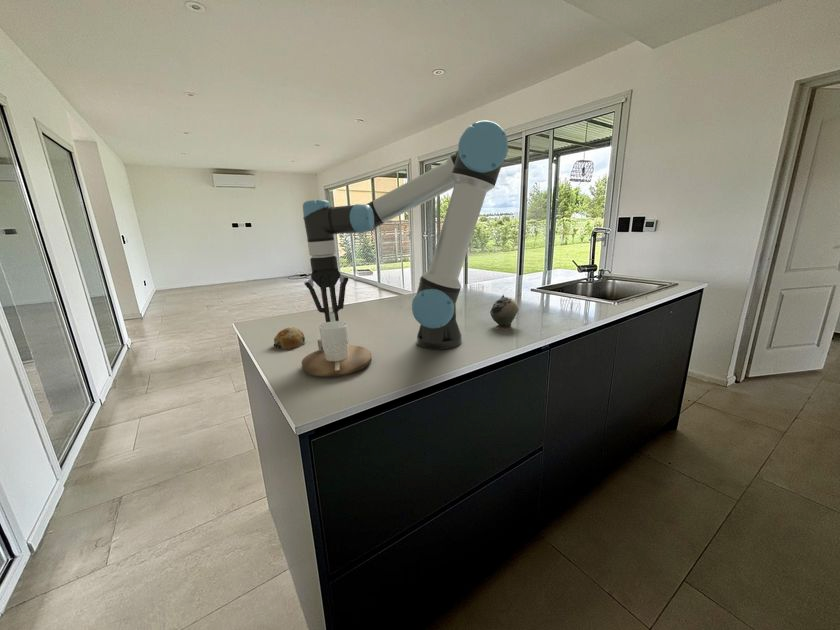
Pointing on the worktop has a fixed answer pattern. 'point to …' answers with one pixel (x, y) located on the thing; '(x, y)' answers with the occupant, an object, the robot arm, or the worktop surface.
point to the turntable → (336, 362)
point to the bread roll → (289, 338)
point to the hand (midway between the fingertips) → (333, 332)
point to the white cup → (335, 340)
